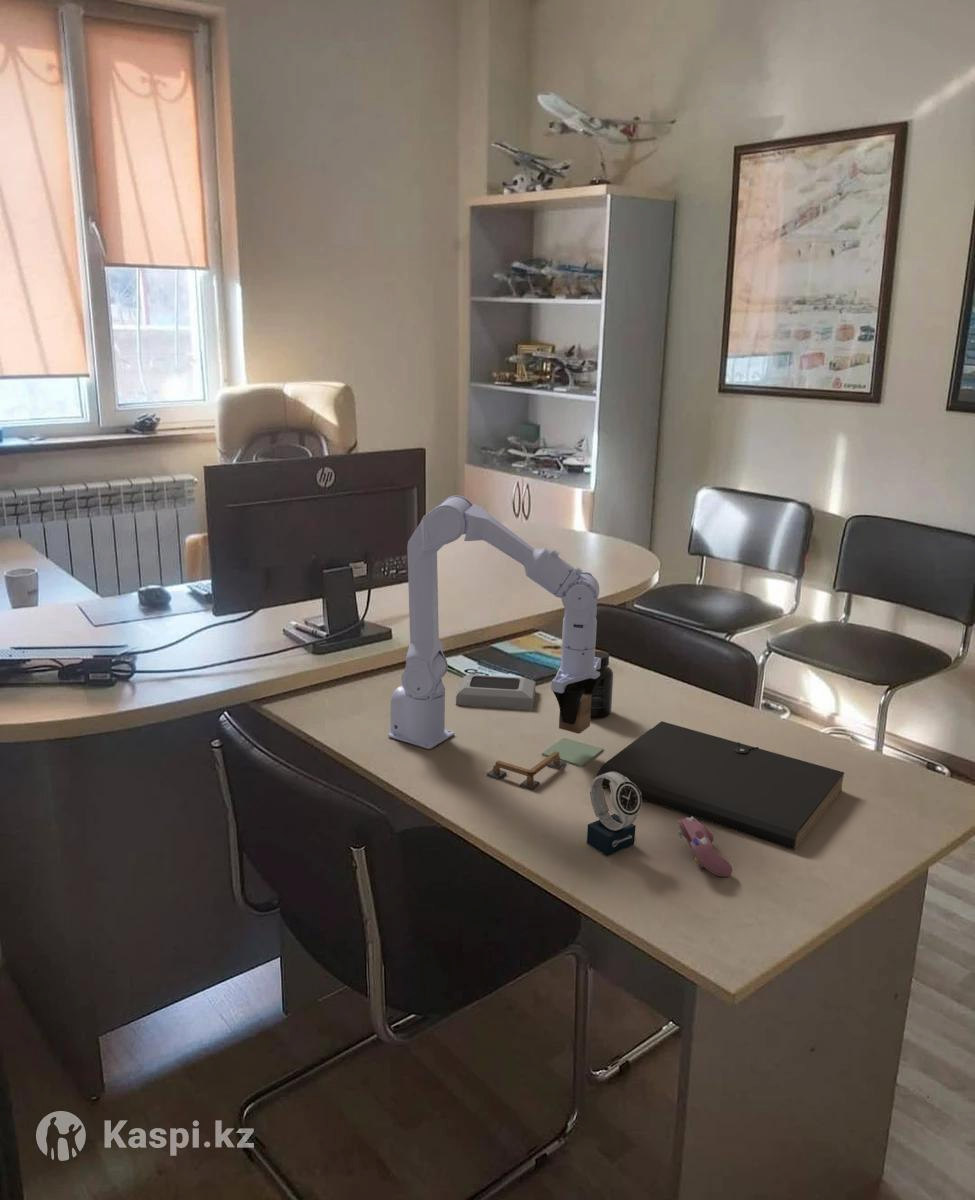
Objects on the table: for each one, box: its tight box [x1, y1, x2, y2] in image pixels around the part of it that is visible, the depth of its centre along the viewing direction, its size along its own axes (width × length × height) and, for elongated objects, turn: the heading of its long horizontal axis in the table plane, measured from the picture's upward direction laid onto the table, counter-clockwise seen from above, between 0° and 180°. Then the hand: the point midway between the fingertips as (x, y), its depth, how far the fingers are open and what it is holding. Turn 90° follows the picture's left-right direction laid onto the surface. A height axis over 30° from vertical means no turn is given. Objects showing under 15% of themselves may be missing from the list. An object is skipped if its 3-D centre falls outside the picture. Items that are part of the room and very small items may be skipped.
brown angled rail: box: [486, 751, 567, 791], centre depth 165 cm, size 9×11×2 cm
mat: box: [541, 737, 604, 768], centre depth 173 cm, size 8×8×1 cm
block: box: [558, 693, 592, 735], centre depth 170 cm, size 4×4×6 cm
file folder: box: [595, 720, 845, 851], centre depth 161 cm, size 33×4×24 cm
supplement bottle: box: [590, 650, 614, 720], centre depth 188 cm, size 7×7×12 cm
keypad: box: [455, 674, 537, 710], centre depth 196 cm, size 10×4×15 cm
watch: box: [586, 772, 643, 857], centre depth 142 cm, size 6×8×11 cm
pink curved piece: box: [676, 816, 733, 878], centre depth 139 cm, size 10×5×7 cm, turn 6°
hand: (574, 718), depth 171 cm, fingers closed on block, 4 cm apart
